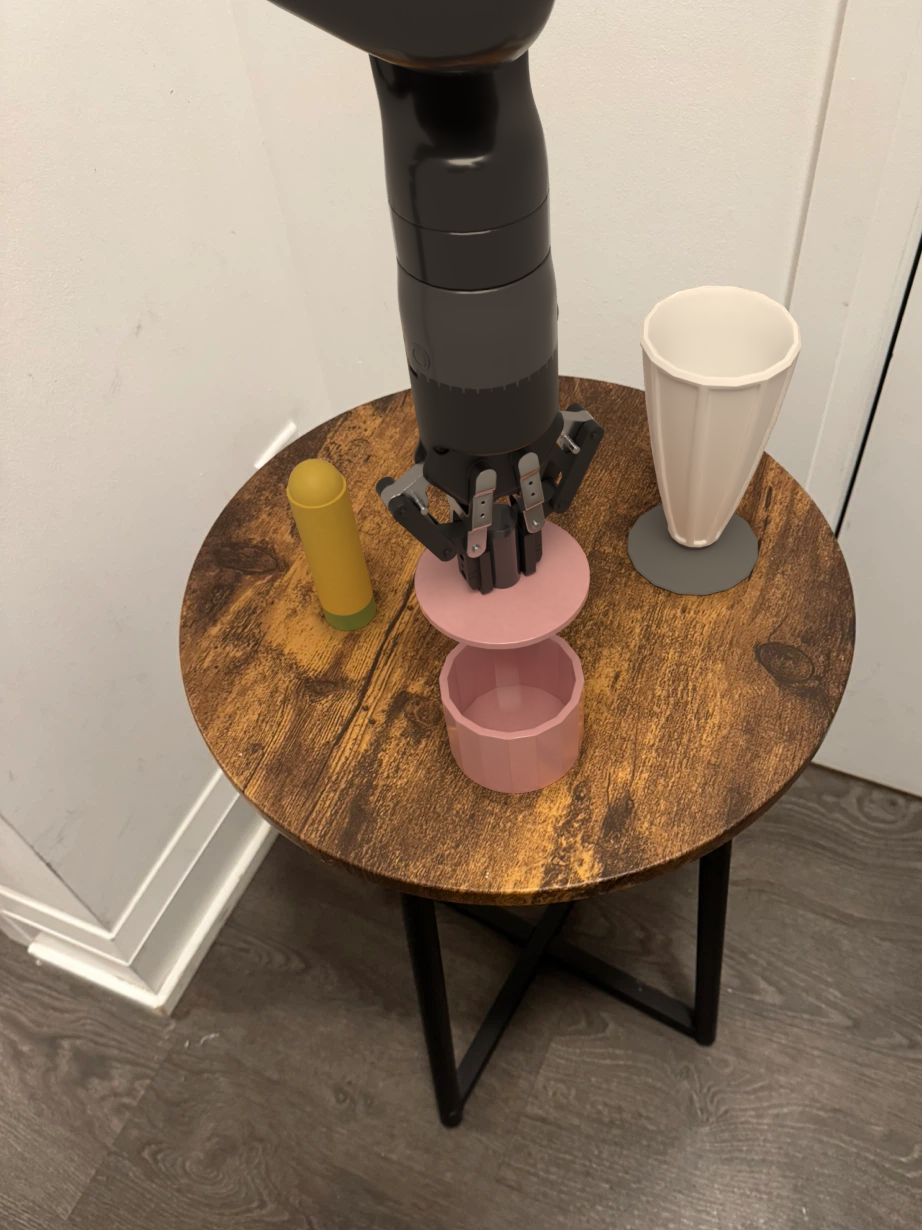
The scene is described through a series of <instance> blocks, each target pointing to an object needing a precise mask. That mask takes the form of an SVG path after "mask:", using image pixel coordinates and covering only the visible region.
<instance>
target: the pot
mask: <svg viewBox="0 0 922 1230" xmlns="http://www.w3.org/2000/svg"><path fill="white" fill-rule="evenodd" d="M438 682H439V690H440V691H439V692H440V698H441V704H442V710H443V715H444V720H445V721H444V722H445V725H446V732H447V737H448V742H449V747H450V753H451V755H452V756H453V760H454V761H455V763H456V765H457V766H458V768H459V769H460V770H461V772H462V773H463V774H464V775H465V776H466V777H467V778H468V779H470V780H471V781H472V782H474V784H475V783H476V784H477V785H479V786H481V787H483V788H485V789H487V790H490V791H495V792H498V793H502V794H526V793H527V794H528V793H531V792H536V791H539V790H541V789H544V788H547V787H550V786H551V785H552V784H555V783H556V782H557V781H559V780H560V779H561V778H563V777H564V776H565V775H566V774H567V773H568V772H569V771H570V770H571V769H572V767H573V766H574V765H575V763H576V761H577V759H578V758H579V755H580V753H581V750H582V746H583V739H584V736H585V675H584V672H583V667H582V663H581V658H580V657H579V655H578V654H577V653H576V652H575V650H574V649H573V648H572V647H571V645H570V644H569V643H568V642H567V641H566V639H564V638H563V637H561V636H559V634H558V635H557V634H555V635H553V636H551V637H550V638H548V639H545V640H543V641H541V642H538V643H535V644H532V645H529V646H525V647H520V648H514V649H484V648H478V647H473V646H469V645H466V644H463V643H460V642H458V644H456V646H455V647H454V648H452V650H451V651H450V652H449V653H448V654H447V655H446V657H445V660H444V662H443V665H442V668H441V671H440V674H439V676H438Z"/></svg>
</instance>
